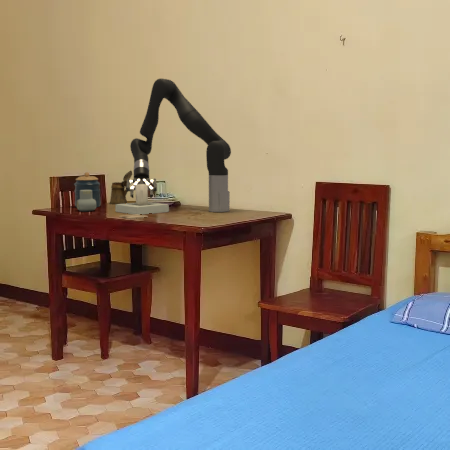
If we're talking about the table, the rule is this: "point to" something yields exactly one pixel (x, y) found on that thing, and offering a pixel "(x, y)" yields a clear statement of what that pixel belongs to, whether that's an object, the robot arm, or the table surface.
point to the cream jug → (141, 194)
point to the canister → (87, 187)
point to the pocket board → (142, 208)
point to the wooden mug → (120, 190)
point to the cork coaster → (133, 216)
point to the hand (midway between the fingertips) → (141, 196)
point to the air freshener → (86, 201)
